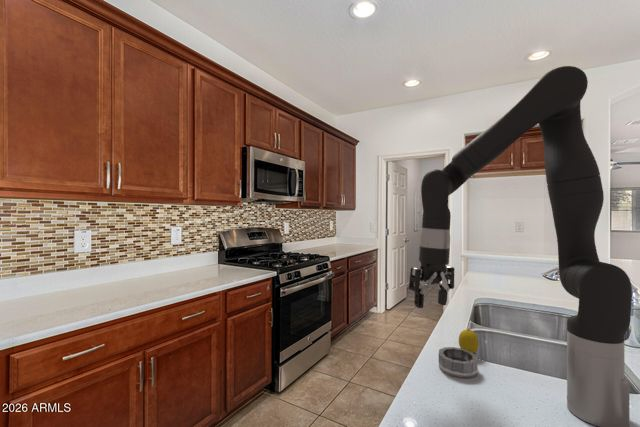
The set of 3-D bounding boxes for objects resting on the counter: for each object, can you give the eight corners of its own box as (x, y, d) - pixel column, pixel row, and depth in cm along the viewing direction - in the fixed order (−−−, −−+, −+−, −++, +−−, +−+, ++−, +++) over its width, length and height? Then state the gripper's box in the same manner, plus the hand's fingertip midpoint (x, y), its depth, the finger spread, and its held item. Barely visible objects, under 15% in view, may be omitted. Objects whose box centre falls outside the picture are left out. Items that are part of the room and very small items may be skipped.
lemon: (475, 360, 90) (475, 333, 90) (456, 355, 94) (456, 329, 94) (480, 354, 94) (480, 328, 94) (462, 349, 98) (462, 324, 98)
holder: (476, 364, 88) (476, 350, 88) (478, 381, 79) (478, 366, 79) (439, 358, 92) (439, 344, 92) (437, 373, 83) (437, 358, 83)
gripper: (425, 247, 75) (421, 313, 75) (464, 247, 81) (461, 307, 82) (404, 243, 82) (400, 304, 82) (442, 243, 88) (438, 299, 88)
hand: (430, 305), depth 82 cm, fingers open, 8 cm apart
